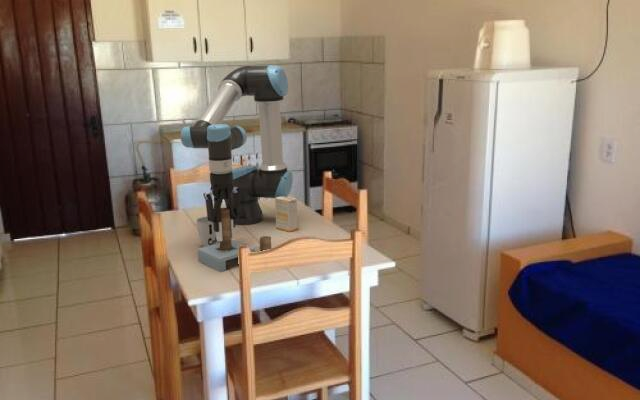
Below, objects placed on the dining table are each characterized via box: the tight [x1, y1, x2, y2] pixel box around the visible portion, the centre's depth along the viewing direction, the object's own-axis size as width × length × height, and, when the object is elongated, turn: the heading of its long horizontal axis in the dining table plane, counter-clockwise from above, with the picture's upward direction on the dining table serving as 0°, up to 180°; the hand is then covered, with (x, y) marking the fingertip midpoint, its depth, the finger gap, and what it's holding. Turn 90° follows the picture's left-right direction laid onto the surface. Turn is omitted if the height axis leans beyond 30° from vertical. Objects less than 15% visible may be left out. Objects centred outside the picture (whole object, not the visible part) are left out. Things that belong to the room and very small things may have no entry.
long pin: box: [219, 207, 232, 252], centre depth 190 cm, size 4×4×14 cm
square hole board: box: [196, 239, 256, 273], centre depth 192 cm, size 14×14×4 cm
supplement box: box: [274, 196, 299, 233], centre depth 225 cm, size 8×5×13 cm, turn 47°
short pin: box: [259, 235, 272, 252], centre depth 198 cm, size 4×4×6 cm
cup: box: [195, 216, 218, 247], centre depth 208 cm, size 8×8×10 cm
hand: (225, 238), depth 191 cm, fingers closed on long pin, 4 cm apart
